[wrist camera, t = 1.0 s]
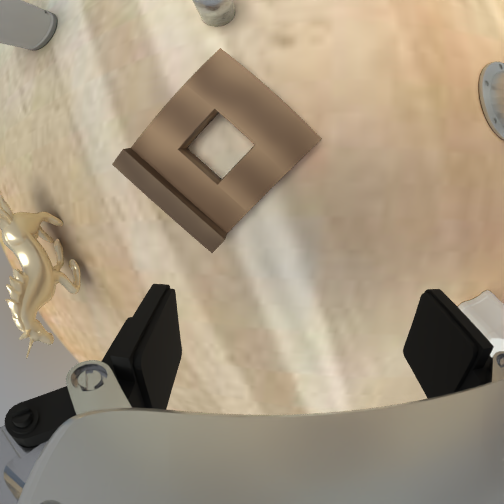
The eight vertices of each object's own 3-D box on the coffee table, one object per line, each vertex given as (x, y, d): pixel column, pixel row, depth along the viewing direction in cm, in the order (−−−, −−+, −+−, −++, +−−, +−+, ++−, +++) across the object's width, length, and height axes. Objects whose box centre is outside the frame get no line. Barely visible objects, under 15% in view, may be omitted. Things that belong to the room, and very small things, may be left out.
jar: (446, 349, 44) (484, 406, 30) (448, 308, 40) (496, 366, 26) (491, 325, 42) (533, 372, 28) (496, 284, 39) (547, 329, 25)
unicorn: (25, 182, 34) (-60, 215, 18) (41, 168, 33) (-50, 197, 17) (85, 298, 40) (25, 369, 24) (103, 290, 40) (41, 365, 24)
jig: (224, 57, 28) (217, 42, 23) (314, 138, 32) (326, 139, 26) (133, 159, 33) (112, 164, 27) (218, 234, 36) (212, 253, 31)
